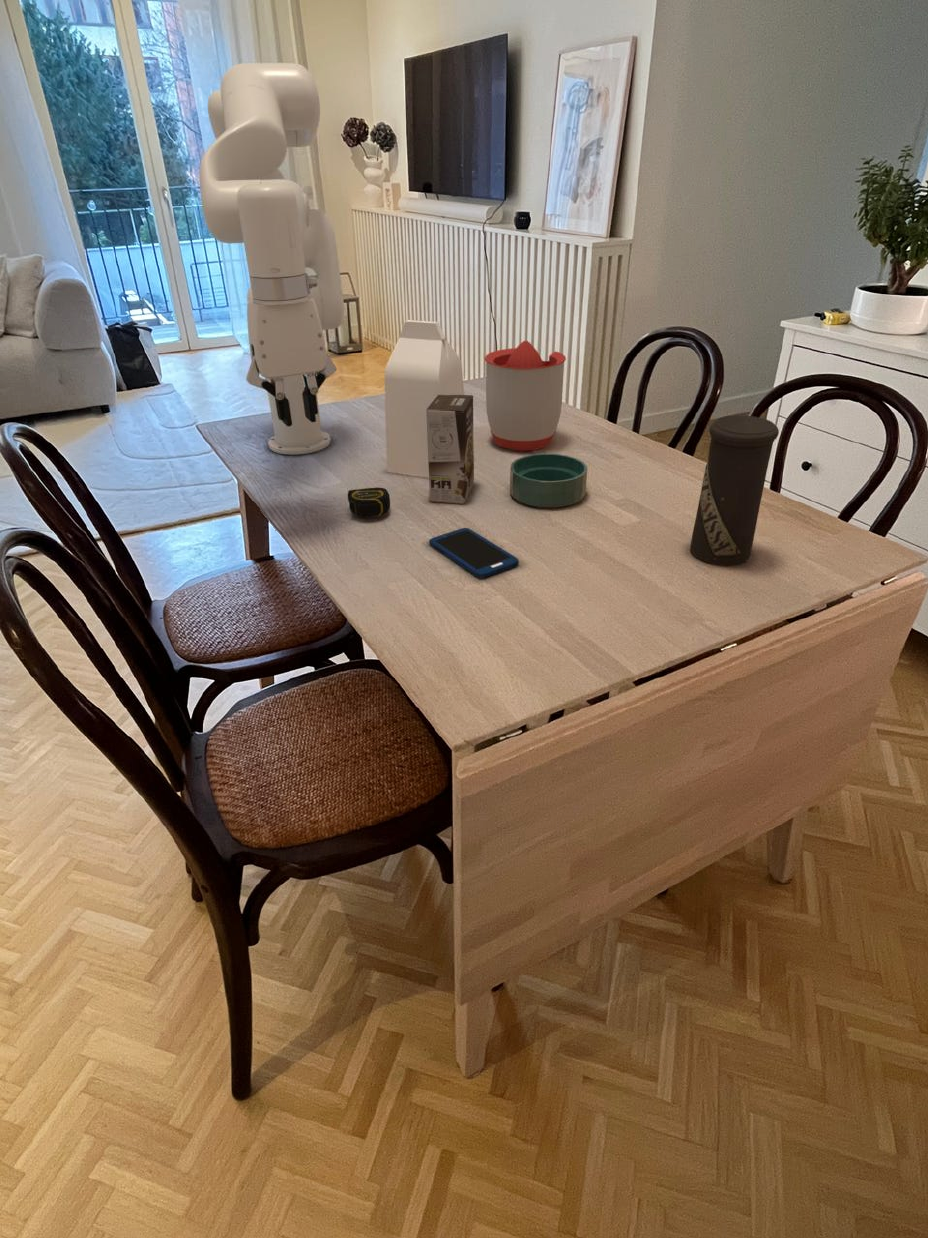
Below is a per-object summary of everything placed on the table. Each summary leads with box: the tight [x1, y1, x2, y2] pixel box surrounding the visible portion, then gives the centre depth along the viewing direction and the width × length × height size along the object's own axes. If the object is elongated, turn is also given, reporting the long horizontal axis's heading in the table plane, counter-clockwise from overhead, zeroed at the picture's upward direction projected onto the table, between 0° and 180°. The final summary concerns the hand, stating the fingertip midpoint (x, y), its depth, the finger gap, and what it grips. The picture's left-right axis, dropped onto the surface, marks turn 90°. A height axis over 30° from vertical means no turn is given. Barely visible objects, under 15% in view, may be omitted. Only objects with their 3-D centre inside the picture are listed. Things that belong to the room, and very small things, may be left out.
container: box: [689, 414, 780, 566], centre depth 102 cm, size 9×9×20 cm
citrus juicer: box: [484, 340, 567, 452], centre depth 144 cm, size 16×17×20 cm
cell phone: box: [428, 527, 520, 579], centre depth 108 cm, size 7×14×1 cm, turn 35°
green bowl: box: [509, 453, 588, 508], centre depth 125 cm, size 13×13×5 cm
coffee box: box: [426, 394, 475, 505], centre depth 124 cm, size 9×6×16 cm
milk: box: [384, 319, 465, 479], centre depth 132 cm, size 12×12×26 cm
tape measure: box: [347, 487, 391, 519], centre depth 120 cm, size 7×7×4 cm
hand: (298, 420), depth 109 cm, fingers open, 3 cm apart
